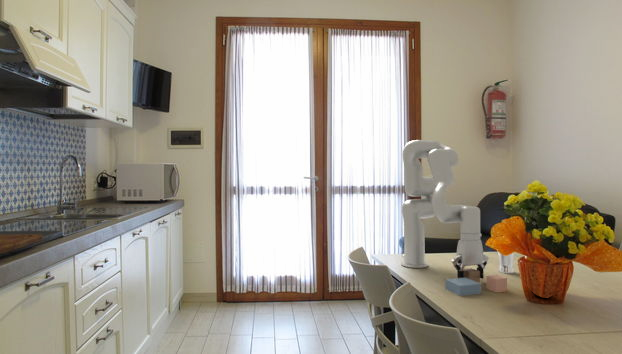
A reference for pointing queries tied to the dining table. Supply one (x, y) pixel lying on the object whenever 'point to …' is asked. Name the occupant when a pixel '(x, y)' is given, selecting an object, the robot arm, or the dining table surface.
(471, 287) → the base block
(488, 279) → the pink cube
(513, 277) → the dining table surface
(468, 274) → the walnut cube
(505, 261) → the beer glass
